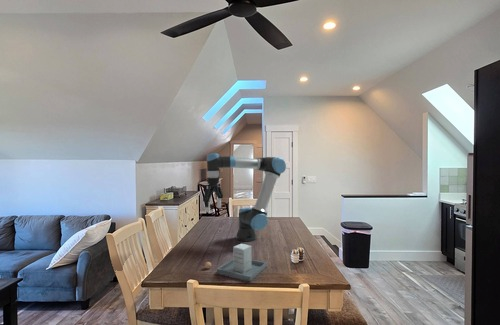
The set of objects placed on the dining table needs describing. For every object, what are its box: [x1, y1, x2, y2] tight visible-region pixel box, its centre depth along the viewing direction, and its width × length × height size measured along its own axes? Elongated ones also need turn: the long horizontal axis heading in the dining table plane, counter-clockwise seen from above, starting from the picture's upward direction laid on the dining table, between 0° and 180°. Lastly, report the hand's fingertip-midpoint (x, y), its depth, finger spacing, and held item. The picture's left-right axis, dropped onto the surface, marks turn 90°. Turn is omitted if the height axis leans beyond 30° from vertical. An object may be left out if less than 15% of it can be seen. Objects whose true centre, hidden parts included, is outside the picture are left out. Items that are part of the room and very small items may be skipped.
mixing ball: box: [204, 261, 212, 270], centre depth 146 cm, size 4×4×4 cm
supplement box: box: [232, 243, 253, 273], centre depth 144 cm, size 7×7×13 cm
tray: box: [216, 258, 268, 283], centre depth 144 cm, size 20×20×2 cm
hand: (213, 210), depth 171 cm, fingers open, 13 cm apart
